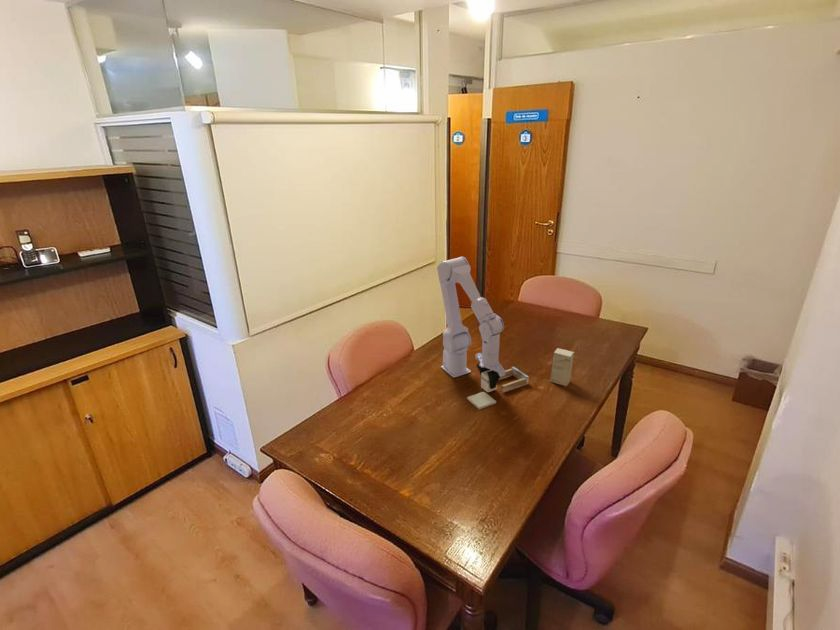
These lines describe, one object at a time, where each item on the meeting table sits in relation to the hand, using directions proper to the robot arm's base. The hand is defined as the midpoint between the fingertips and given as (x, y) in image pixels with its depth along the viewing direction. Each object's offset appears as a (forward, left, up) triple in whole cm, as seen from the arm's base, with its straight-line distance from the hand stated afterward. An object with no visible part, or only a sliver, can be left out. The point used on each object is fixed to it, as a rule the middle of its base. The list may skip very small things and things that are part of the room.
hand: (488, 384), depth 157 cm
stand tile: (+5, -6, -2) cm, 8 cm away
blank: (0, 0, -1) cm, 1 cm away
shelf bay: (0, +9, -2) cm, 9 cm away
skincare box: (+9, +26, -2) cm, 27 cm away
